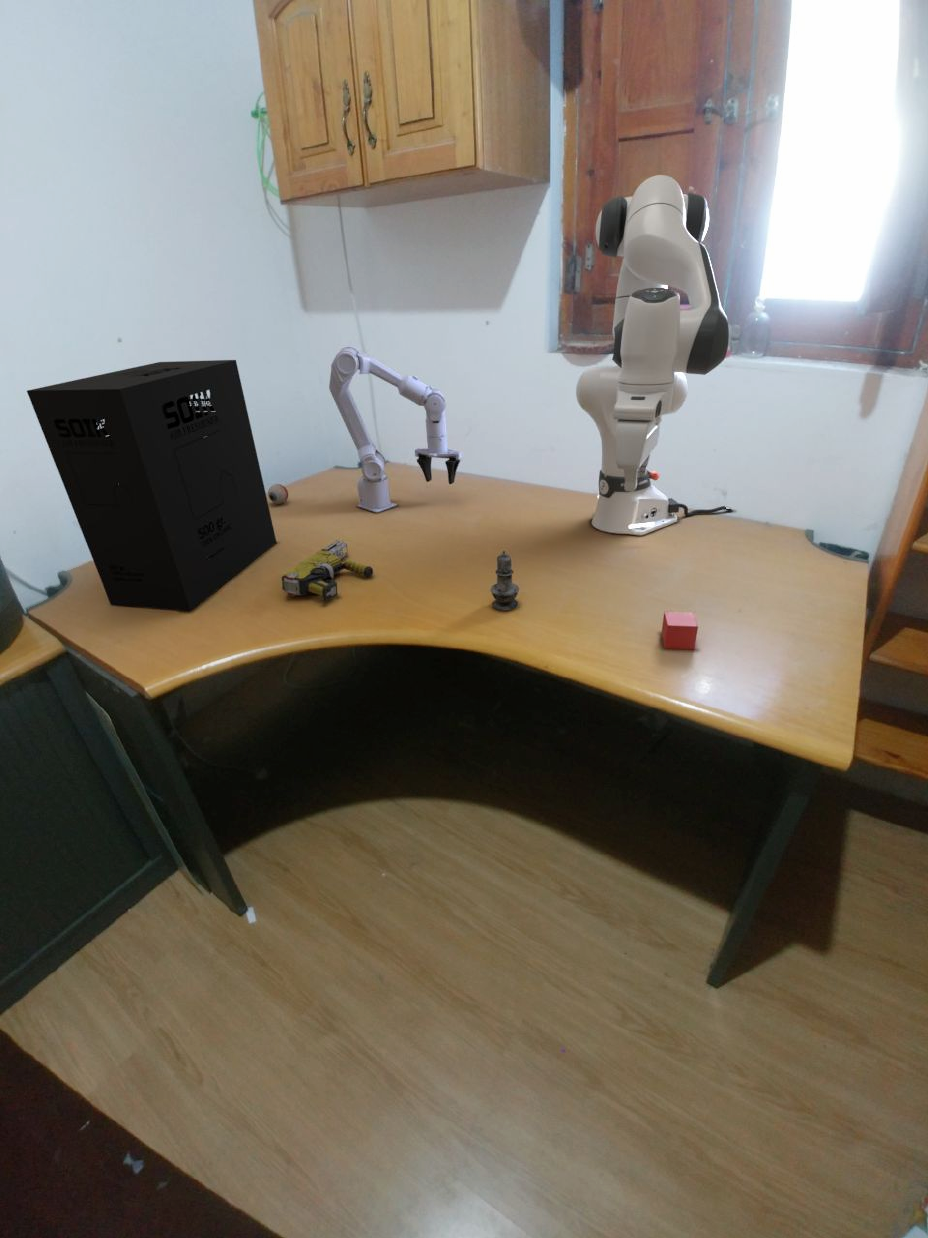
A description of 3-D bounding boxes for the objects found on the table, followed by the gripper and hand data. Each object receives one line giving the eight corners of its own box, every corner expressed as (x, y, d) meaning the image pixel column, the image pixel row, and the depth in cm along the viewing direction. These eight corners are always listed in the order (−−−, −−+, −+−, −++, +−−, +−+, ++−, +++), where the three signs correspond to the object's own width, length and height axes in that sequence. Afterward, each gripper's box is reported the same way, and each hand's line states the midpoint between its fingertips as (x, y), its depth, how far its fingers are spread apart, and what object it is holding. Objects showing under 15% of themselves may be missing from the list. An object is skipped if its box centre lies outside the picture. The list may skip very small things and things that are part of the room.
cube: (661, 634, 112) (664, 611, 109) (689, 635, 111) (693, 612, 108) (664, 648, 108) (667, 625, 105) (694, 649, 107) (698, 626, 104)
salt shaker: (517, 611, 121) (517, 557, 115) (488, 610, 122) (486, 556, 116) (521, 598, 126) (520, 545, 120) (493, 596, 127) (491, 544, 121)
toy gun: (389, 548, 145) (334, 537, 149) (339, 588, 125) (277, 575, 129) (389, 566, 147) (335, 555, 151) (340, 608, 127) (279, 595, 131)
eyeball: (265, 505, 187) (261, 487, 184) (278, 499, 192) (274, 480, 189) (281, 507, 185) (277, 488, 182) (293, 500, 190) (290, 482, 187)
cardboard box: (190, 611, 129) (119, 389, 106) (110, 604, 133) (26, 390, 111) (276, 542, 160) (235, 359, 138) (209, 539, 165) (159, 361, 142)
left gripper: (407, 437, 172) (412, 483, 178) (453, 440, 166) (455, 488, 173) (420, 431, 177) (423, 476, 184) (464, 434, 171) (466, 481, 178)
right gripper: (636, 390, 109) (629, 467, 115) (611, 409, 93) (604, 497, 99) (672, 391, 107) (663, 469, 113) (653, 411, 90) (643, 500, 97)
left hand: (440, 481), depth 179 cm, fingers open, 7 cm apart
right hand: (635, 482), depth 106 cm, fingers open, 8 cm apart
